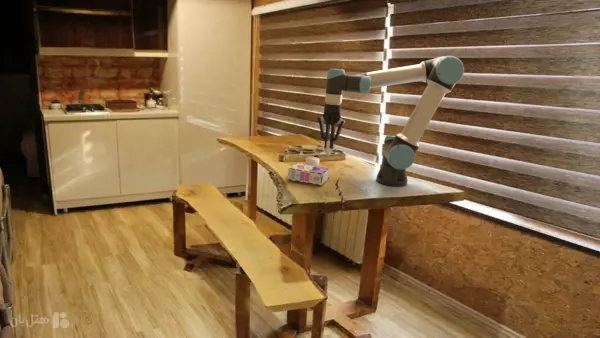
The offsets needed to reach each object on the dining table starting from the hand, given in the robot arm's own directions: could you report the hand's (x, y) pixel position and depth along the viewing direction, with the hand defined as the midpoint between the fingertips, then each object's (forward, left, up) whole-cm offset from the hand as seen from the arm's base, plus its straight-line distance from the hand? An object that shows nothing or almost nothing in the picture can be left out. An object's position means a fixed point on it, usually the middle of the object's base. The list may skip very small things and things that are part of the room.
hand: (328, 154), depth 214 cm
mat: (+7, -1, -14) cm, 16 cm away
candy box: (0, 0, -10) cm, 10 cm away
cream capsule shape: (+13, -17, -14) cm, 26 cm away
